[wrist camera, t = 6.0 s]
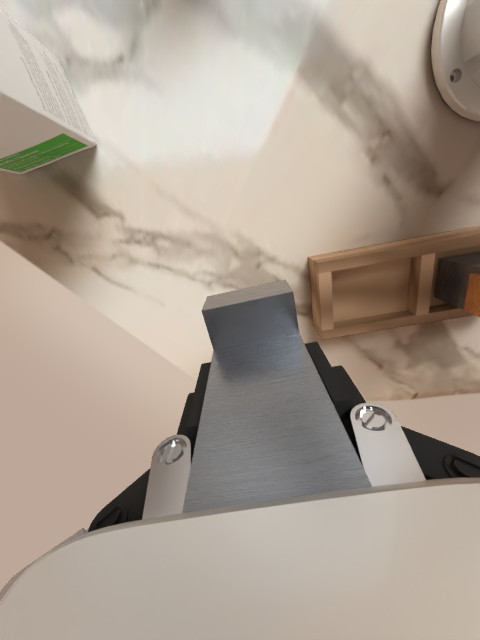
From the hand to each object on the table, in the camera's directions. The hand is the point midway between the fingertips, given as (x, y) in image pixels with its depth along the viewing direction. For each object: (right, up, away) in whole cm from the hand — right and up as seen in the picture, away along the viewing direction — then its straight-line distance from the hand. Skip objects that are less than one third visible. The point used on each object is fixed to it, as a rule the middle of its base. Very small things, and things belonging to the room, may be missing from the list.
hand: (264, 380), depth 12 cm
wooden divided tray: (+17, +8, +15) cm, 24 cm away
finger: (0, +2, +2) cm, 2 cm away
